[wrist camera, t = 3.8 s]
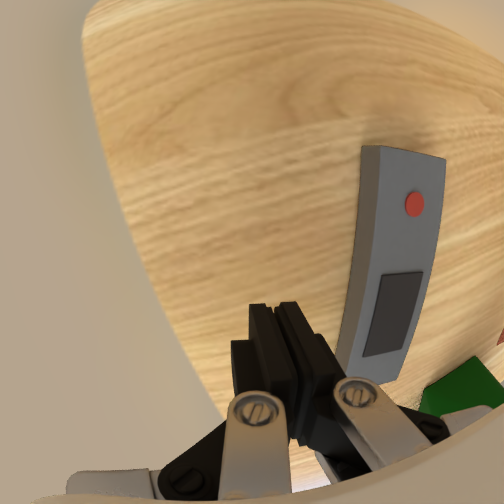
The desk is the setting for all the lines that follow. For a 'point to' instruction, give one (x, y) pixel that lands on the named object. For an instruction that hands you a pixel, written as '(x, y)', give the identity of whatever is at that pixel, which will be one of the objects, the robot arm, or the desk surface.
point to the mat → (501, 338)
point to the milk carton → (463, 390)
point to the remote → (390, 259)
